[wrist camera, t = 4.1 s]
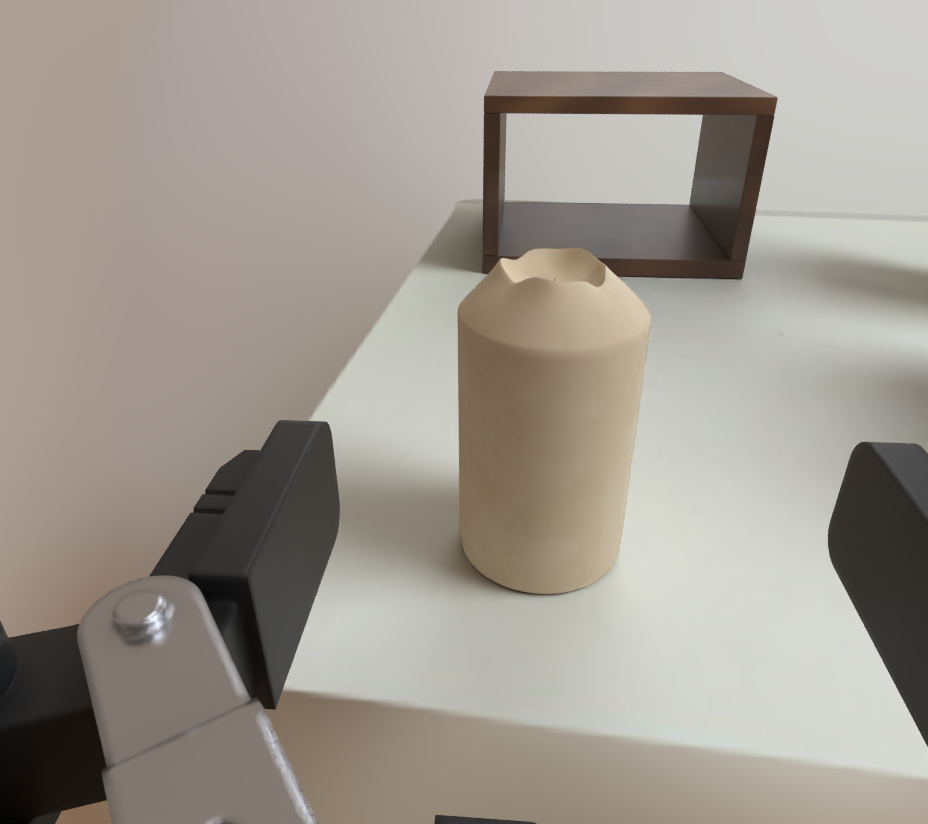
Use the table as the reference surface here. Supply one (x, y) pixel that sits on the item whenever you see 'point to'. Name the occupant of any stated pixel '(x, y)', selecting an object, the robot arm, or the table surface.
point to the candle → (548, 418)
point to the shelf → (636, 225)
